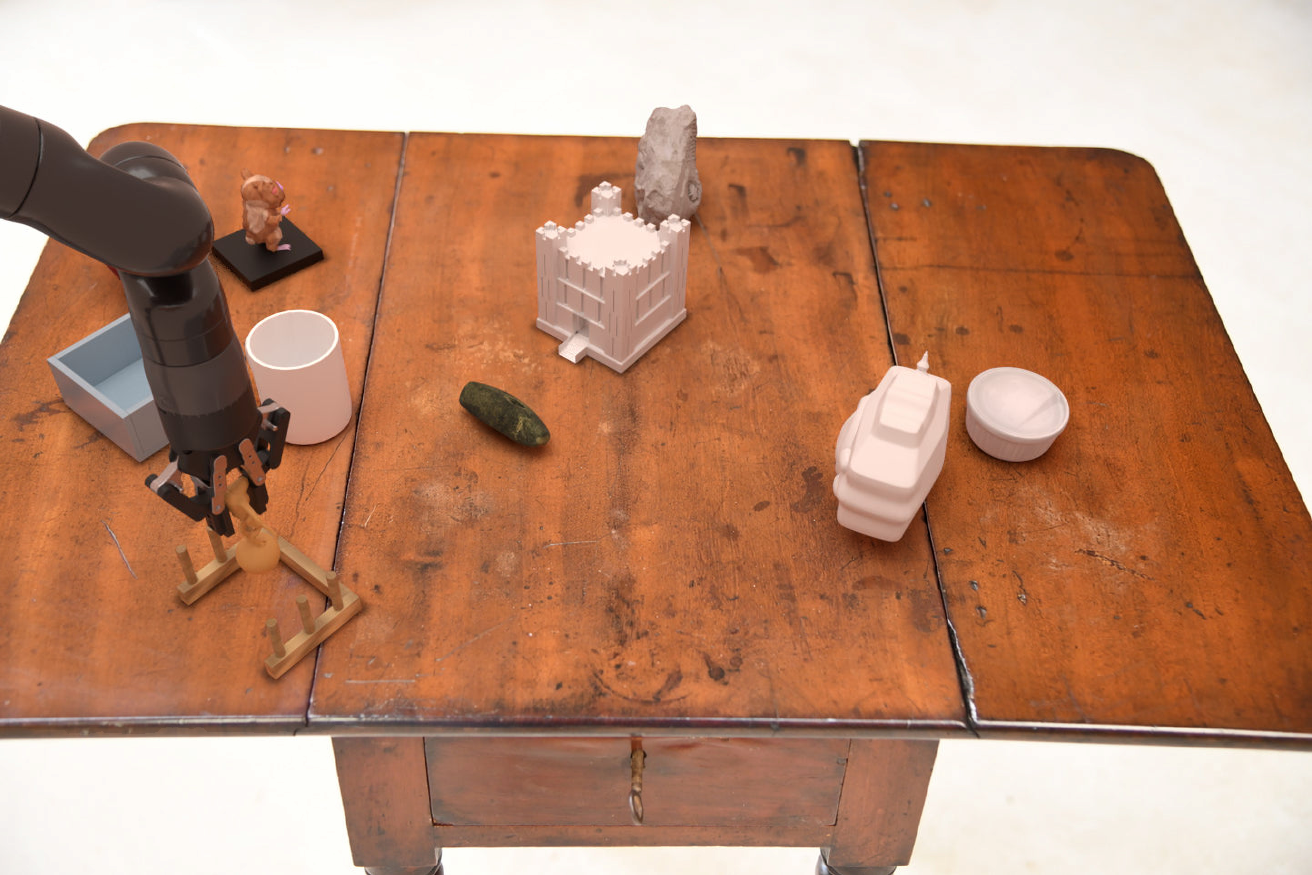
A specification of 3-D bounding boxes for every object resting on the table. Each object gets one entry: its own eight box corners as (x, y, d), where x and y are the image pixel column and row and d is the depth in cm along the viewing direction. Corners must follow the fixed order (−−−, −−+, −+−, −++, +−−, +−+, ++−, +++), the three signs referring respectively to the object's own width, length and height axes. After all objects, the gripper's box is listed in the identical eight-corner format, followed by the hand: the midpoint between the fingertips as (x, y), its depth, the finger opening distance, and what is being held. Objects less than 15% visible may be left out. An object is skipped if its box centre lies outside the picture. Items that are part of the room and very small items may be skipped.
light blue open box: (139, 463, 135) (122, 418, 130) (65, 404, 141) (46, 359, 136) (242, 396, 143) (229, 351, 138) (167, 342, 149) (153, 298, 144)
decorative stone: (558, 412, 143) (558, 380, 139) (548, 462, 138) (547, 430, 134) (462, 403, 143) (458, 371, 140) (448, 452, 138) (444, 420, 134)
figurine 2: (304, 581, 119) (308, 482, 112) (252, 612, 114) (254, 511, 107) (245, 537, 122) (246, 438, 115) (193, 565, 118) (190, 464, 111)
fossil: (692, 247, 162) (706, 130, 154) (619, 237, 162) (630, 120, 155) (704, 210, 176) (717, 101, 169) (637, 200, 176) (647, 92, 169)
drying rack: (276, 679, 117) (261, 636, 112) (180, 599, 123) (163, 554, 118) (362, 609, 123) (352, 564, 118) (267, 535, 129) (254, 490, 124)
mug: (333, 455, 137) (316, 377, 129) (230, 434, 139) (207, 355, 130) (366, 396, 144) (352, 318, 135) (268, 377, 145) (248, 298, 137)
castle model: (685, 317, 155) (693, 222, 145) (610, 383, 147) (611, 286, 136) (603, 274, 160) (604, 179, 150) (525, 335, 152) (520, 239, 141)
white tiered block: (947, 458, 140) (979, 352, 129) (906, 576, 129) (937, 471, 117) (852, 429, 143) (875, 322, 131) (803, 542, 131) (824, 435, 120)
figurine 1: (324, 259, 160) (309, 179, 152) (253, 291, 155) (233, 211, 147) (282, 221, 165) (265, 143, 157) (212, 252, 160) (190, 172, 152)
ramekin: (1056, 479, 139) (1069, 446, 135) (954, 459, 140) (964, 426, 136) (1058, 409, 146) (1070, 376, 143) (961, 391, 148) (971, 358, 144)
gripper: (241, 316, 107) (276, 457, 119) (95, 403, 99) (148, 544, 111) (300, 356, 104) (329, 496, 116) (153, 449, 96) (202, 589, 108)
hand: (240, 519), depth 113 cm, fingers closed on figurine 2, 3 cm apart
